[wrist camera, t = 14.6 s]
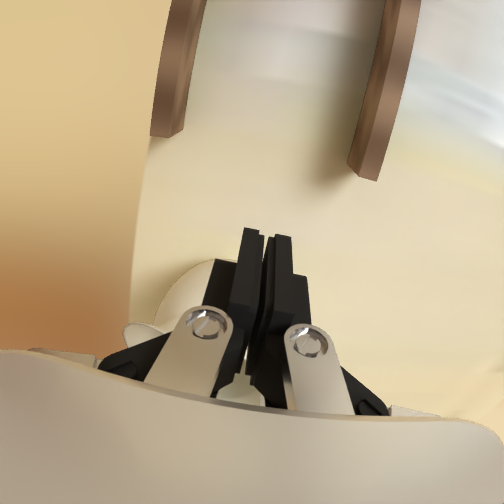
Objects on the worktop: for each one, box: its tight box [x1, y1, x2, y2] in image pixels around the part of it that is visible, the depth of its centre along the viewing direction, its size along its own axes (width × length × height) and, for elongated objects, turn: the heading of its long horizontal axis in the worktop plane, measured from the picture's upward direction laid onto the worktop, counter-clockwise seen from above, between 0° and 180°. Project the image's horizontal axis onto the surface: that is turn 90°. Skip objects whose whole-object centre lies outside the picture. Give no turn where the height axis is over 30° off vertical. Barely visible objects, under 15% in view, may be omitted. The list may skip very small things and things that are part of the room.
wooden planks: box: [150, 0, 421, 182], centre depth 19 cm, size 18×17×4 cm
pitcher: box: [123, 259, 261, 406], centre depth 27 cm, size 11×18×14 cm, turn 30°
